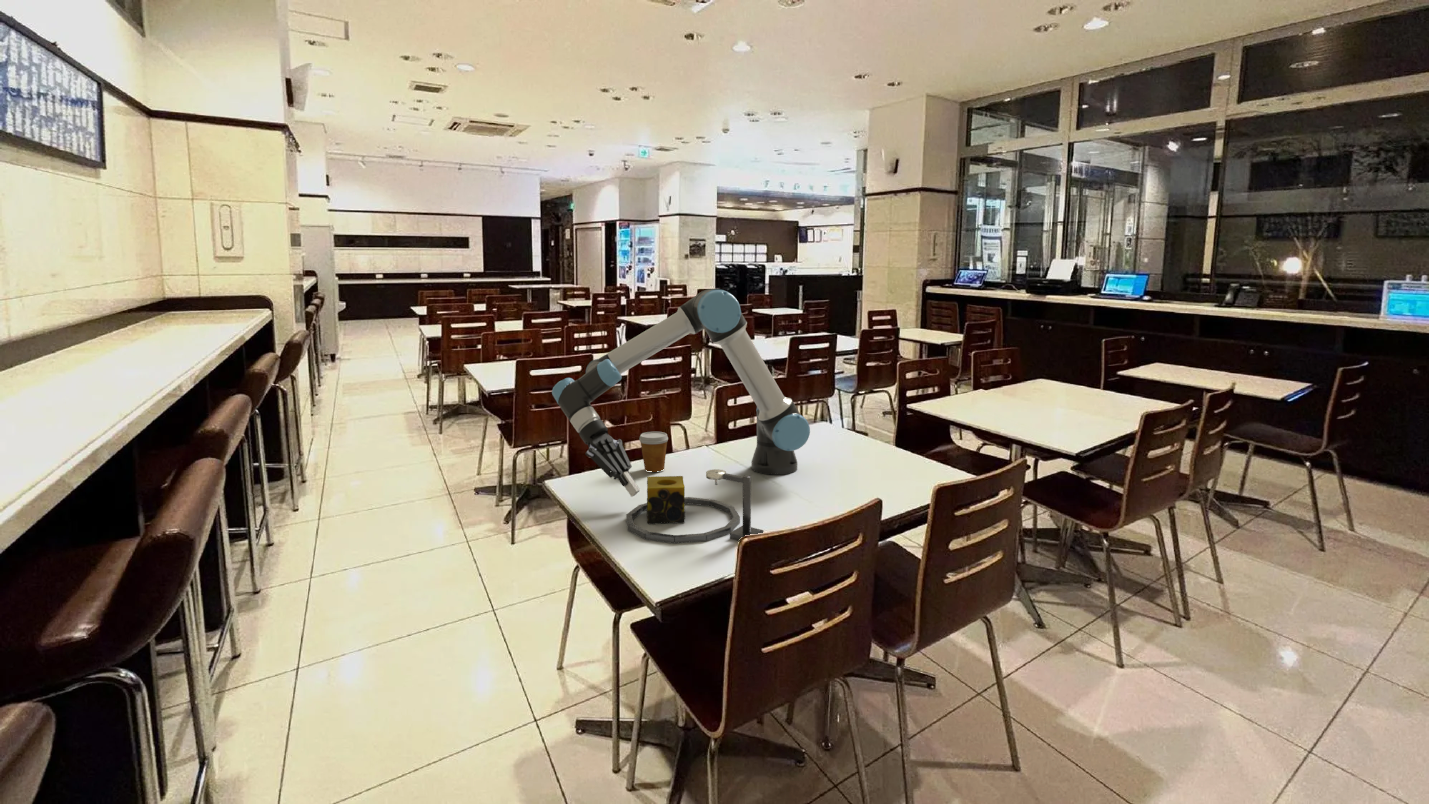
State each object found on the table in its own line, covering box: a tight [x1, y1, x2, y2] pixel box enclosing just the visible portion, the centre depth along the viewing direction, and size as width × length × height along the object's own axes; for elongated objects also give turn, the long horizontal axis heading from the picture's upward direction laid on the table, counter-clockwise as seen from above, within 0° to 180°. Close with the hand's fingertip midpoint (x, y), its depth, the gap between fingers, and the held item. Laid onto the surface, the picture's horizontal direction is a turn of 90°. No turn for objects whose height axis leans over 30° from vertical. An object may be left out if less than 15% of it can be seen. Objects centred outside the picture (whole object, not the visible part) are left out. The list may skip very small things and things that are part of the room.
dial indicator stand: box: [705, 468, 765, 542], centre depth 170 cm, size 14×6×16 cm, turn 55°
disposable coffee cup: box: [638, 431, 669, 472], centre depth 225 cm, size 10×10×12 cm
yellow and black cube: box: [646, 475, 686, 525], centre depth 182 cm, size 10×10×10 cm
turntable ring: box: [625, 496, 741, 544], centre depth 180 cm, size 29×29×2 cm
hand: (635, 493), depth 188 cm, fingers closed
